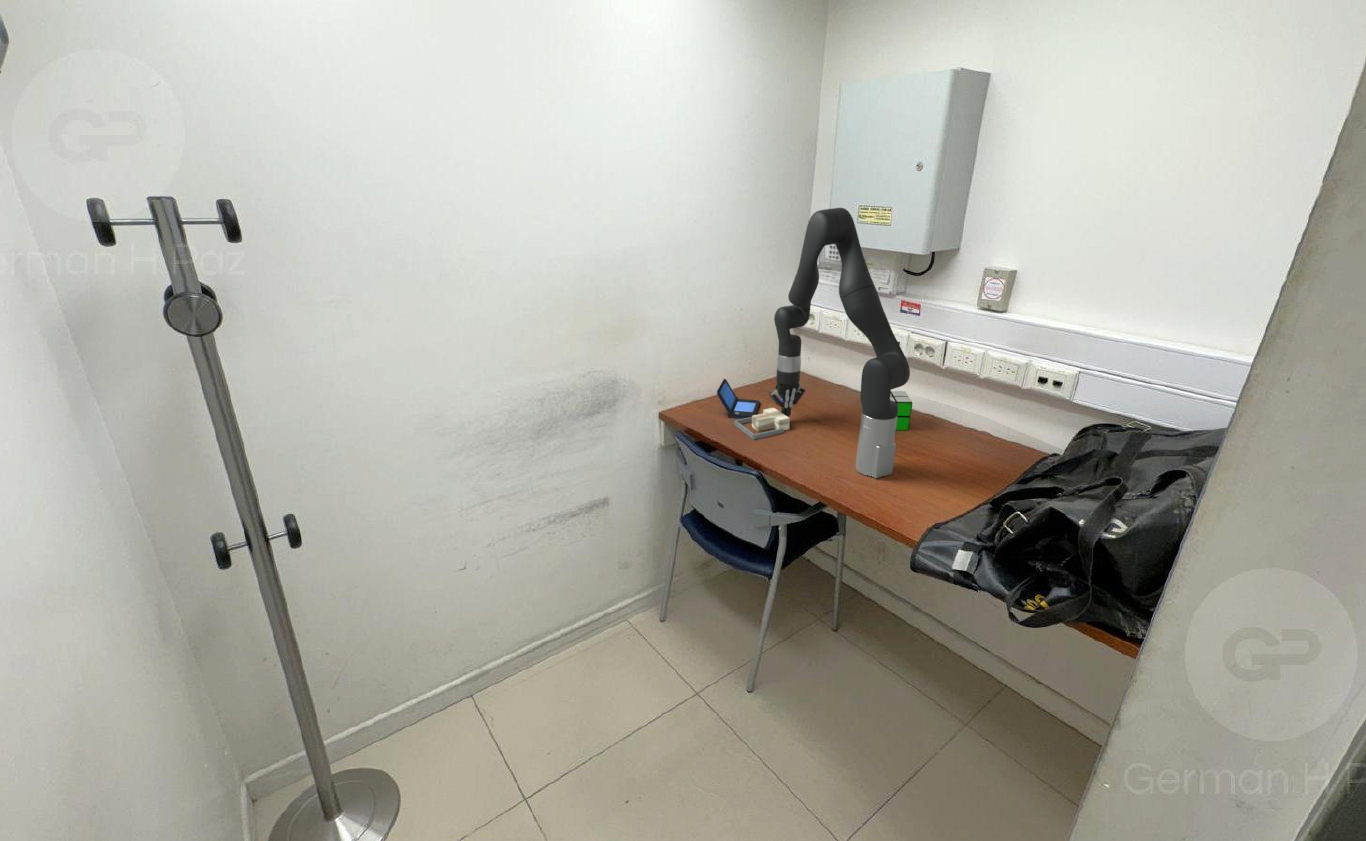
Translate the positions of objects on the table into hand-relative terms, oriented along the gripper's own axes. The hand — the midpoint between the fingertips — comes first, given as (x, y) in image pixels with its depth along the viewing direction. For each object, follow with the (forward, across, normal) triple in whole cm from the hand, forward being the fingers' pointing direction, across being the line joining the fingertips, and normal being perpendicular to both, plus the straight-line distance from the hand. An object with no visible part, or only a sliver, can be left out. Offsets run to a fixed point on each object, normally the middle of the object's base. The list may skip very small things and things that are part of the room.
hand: (785, 416), depth 194 cm
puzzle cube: (+2, +30, -16) cm, 34 cm away
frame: (+2, -11, 0) cm, 11 cm away
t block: (+2, -7, 0) cm, 7 cm away
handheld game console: (+3, -9, +17) cm, 19 cm away
